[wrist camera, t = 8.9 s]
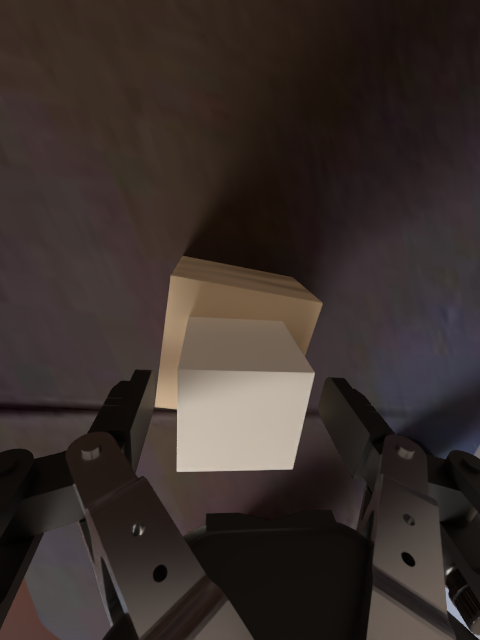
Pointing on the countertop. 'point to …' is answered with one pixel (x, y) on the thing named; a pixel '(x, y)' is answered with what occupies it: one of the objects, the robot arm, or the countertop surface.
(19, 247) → the countertop surface
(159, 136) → the countertop surface
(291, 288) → the oak block
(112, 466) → the robot arm
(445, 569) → the supplement bottle
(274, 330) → the cream cube
